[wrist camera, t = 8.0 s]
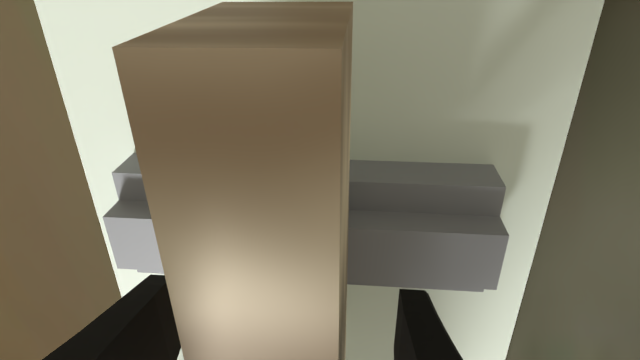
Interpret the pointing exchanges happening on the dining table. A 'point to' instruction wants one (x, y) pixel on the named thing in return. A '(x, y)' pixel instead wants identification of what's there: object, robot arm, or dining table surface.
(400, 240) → the fulcrum stand
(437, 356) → the robot arm
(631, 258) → the dining table surface
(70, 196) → the dining table surface
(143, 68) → the beech rod
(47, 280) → the dining table surface
